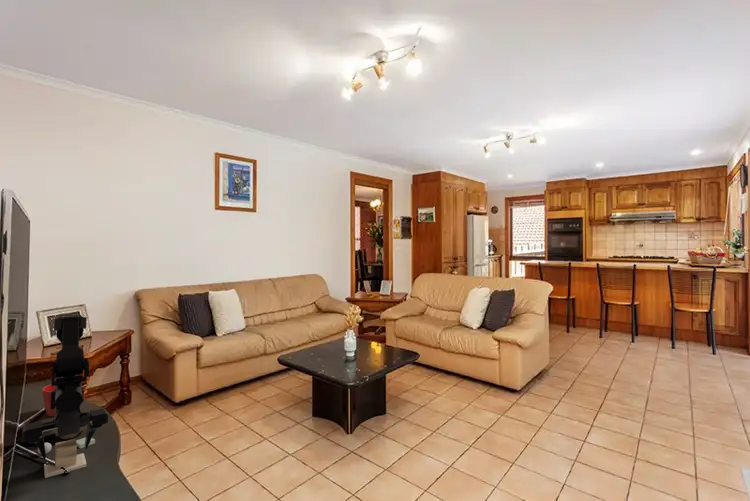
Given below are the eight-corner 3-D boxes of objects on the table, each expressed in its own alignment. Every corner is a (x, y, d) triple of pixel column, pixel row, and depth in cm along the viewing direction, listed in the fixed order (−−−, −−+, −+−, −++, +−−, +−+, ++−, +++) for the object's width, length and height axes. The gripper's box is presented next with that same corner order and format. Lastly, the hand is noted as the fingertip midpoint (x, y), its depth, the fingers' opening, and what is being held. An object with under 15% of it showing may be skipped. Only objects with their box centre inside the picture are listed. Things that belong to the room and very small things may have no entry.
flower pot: (39, 410, 141) (40, 384, 141) (76, 403, 149) (77, 378, 149) (42, 421, 134) (43, 393, 133) (81, 412, 141) (82, 386, 141)
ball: (37, 453, 114) (37, 442, 114) (51, 449, 116) (51, 439, 116) (37, 457, 112) (37, 447, 112) (51, 454, 114) (52, 443, 114)
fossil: (93, 417, 127) (56, 419, 119) (93, 430, 124) (54, 433, 117) (83, 428, 130) (46, 432, 123) (82, 441, 128) (44, 445, 120)
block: (54, 462, 109) (55, 443, 109) (74, 457, 112) (75, 438, 112) (55, 469, 105) (56, 450, 105) (76, 464, 108) (76, 445, 108)
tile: (74, 445, 120) (74, 441, 120) (88, 440, 123) (88, 436, 123) (80, 449, 118) (80, 445, 118) (95, 444, 121) (95, 439, 121)
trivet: (43, 466, 108) (44, 463, 108) (83, 455, 114) (83, 452, 114) (44, 478, 103) (45, 474, 103) (86, 466, 109) (86, 463, 109)
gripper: (23, 418, 96) (21, 479, 96) (112, 401, 109) (109, 455, 109) (23, 403, 104) (21, 460, 104) (106, 388, 117) (103, 439, 117)
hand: (65, 453), depth 108 cm, fingers open, 9 cm apart
